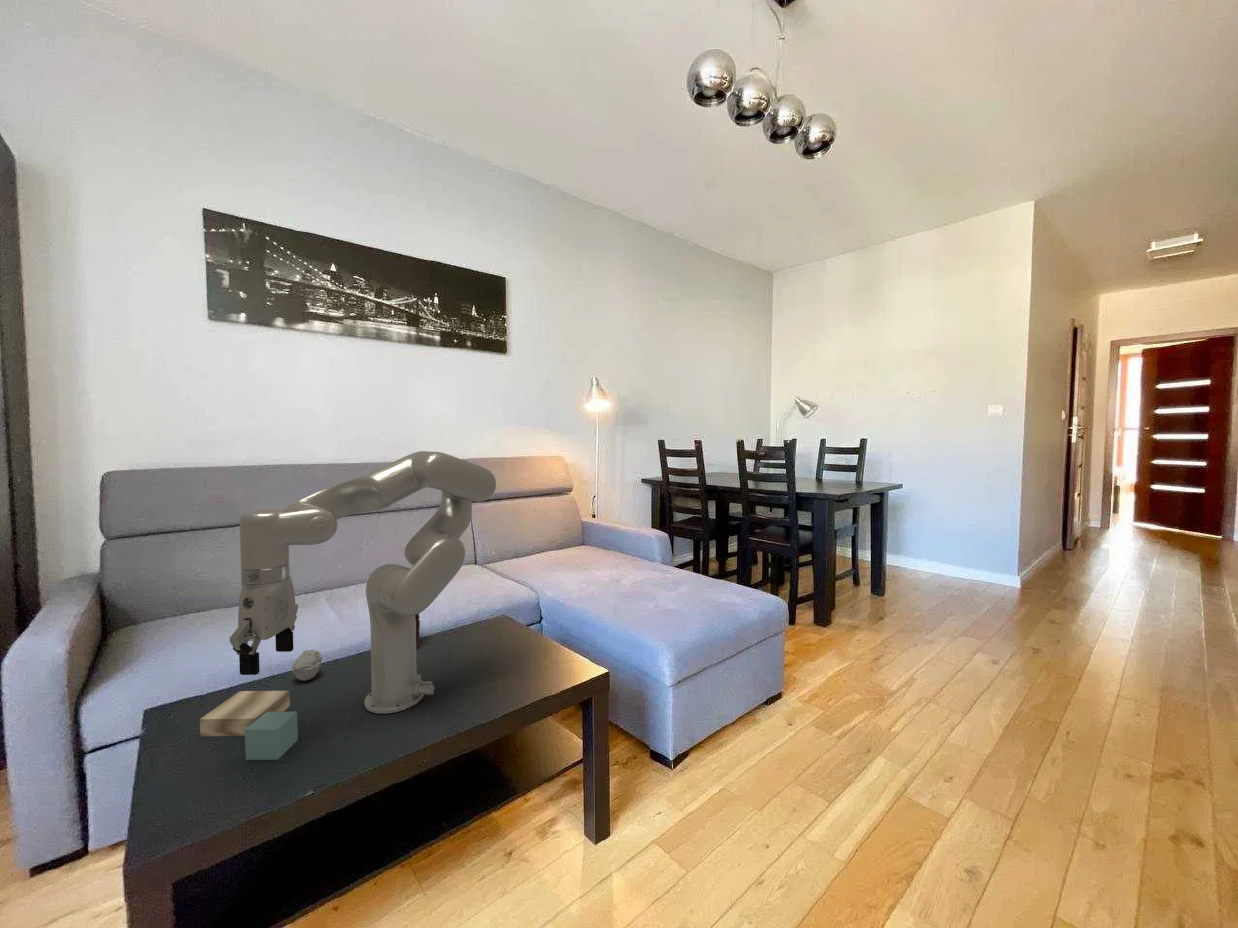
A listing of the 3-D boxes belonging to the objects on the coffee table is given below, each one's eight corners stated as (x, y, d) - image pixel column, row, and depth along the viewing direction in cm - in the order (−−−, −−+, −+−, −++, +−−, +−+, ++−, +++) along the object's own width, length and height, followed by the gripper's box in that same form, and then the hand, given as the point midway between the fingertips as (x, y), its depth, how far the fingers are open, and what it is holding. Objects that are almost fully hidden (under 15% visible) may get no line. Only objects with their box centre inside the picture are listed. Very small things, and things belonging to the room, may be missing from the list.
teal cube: (297, 740, 99) (297, 711, 99) (278, 759, 93) (276, 729, 93) (267, 740, 99) (266, 711, 99) (245, 760, 93) (244, 729, 93)
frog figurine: (328, 672, 127) (327, 646, 127) (308, 686, 120) (308, 658, 120) (306, 671, 128) (305, 645, 127) (285, 685, 121) (284, 657, 120)
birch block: (289, 707, 112) (289, 690, 111) (255, 737, 101) (255, 718, 100) (240, 708, 111) (239, 691, 111) (200, 738, 100) (199, 719, 100)
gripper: (253, 588, 86) (255, 684, 87) (312, 563, 103) (314, 643, 104) (209, 588, 85) (212, 684, 86) (276, 563, 103) (278, 643, 104)
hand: (268, 661), depth 95 cm, fingers open, 9 cm apart
